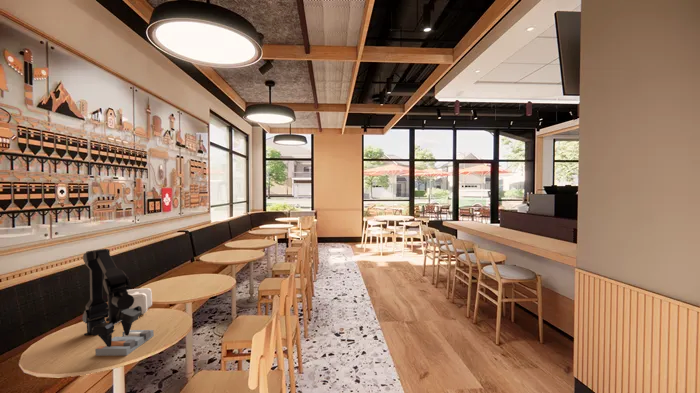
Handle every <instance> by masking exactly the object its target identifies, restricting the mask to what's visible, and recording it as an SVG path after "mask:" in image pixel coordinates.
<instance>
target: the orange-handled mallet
mask: <svg viewBox="0 0 700 393" xmlns="http://www.w3.org/2000/svg"><path fill="white" fill-rule="evenodd" d="M111 346H130V349H132V348H133V347H135V339H129V340H127V341H112V343H111Z"/></svg>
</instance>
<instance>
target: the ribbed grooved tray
mask: <svg viewBox="0 0 700 393" xmlns="http://www.w3.org/2000/svg"><path fill="white" fill-rule="evenodd" d="M144 330H145V329H130V332H143V331H144ZM149 330H150V334H151V337H149V338H148V339H147V340H144V337H124V334H125V333H124V330H123V331H122V336H114V337H112V341H127V340H129V339H135V347H133V348H132V349H130V346H110V347H108V346H107V345H99V346H98V347H96V348H94V349H95V356H98V357H99V356H100V357H101V356H128V355H130V354H131V353H132V352H133V351H135V350H137V349H138V348H139V347H140V346H142V345H143V344H145V343H146V342H147V341H149V340H150V339H151V338H153V337H154V329H149Z"/></svg>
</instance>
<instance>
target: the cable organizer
mask: <svg viewBox="0 0 700 393" xmlns="http://www.w3.org/2000/svg"><path fill="white" fill-rule="evenodd" d="M127 292H128V294H129V295H131V296H132V297H133V298H134V303H133V305H132V306H131V307H130V309H132V308H135V307H137V306H141V309H142V314H141V315H144V314H145V313H147V311H148V309H149V308H151V307H152V306H153V294H152V288H149V287H147V288H144V287H143V288H134V289H133V288H131V289H130V290H127Z"/></svg>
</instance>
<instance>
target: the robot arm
mask: <svg viewBox="0 0 700 393" xmlns="http://www.w3.org/2000/svg"><path fill="white" fill-rule="evenodd" d="M82 259H83V262H84V265H85V266H86V267H87V268H88V269H89V300H88V301H87V303H86V304H85V310H84V311H83V313H82V322H83V323H84V324H86V332H85V333H83V335H84V336H98V337H99V339H101V340H102V341H103V343H104V344H105V346H108V347H110V346H111V343H112V338H113V337H112V335H113V334H114V332H115V325H117V324H119V323H120V322H121V326H122V330H123V331H124V333H125V335H129V332H130V330H132V325H133V323H134V322H135V321H137V320H138V319H139V317H140V316H141V315H143V314H142V309H141V306H137V307H135V308H132V309H130V307H131V306H132V305H133V303H134V298H133V297H132V296H131V295H129V294H128V292H127V290H130V289H132V283H131V281H130V278H129V276H128V275H127V274H126V273H125V272H124V271H123V269H120V268H118V267H117V266H116V264H115V262H114V260H113V258H112V256H111V253H110V249H109V248H102V249H101V248H100V249H93V250H88V251H86V252H85V253H84V254H83V255H82ZM103 288H104V291H105V292H106V295H107V301H105V299H104V295H103V294H104V291H103Z"/></svg>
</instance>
